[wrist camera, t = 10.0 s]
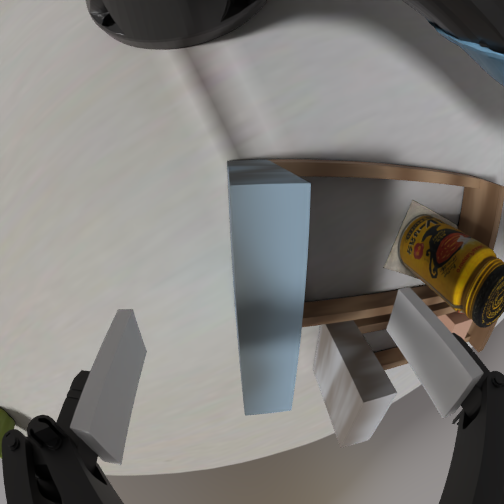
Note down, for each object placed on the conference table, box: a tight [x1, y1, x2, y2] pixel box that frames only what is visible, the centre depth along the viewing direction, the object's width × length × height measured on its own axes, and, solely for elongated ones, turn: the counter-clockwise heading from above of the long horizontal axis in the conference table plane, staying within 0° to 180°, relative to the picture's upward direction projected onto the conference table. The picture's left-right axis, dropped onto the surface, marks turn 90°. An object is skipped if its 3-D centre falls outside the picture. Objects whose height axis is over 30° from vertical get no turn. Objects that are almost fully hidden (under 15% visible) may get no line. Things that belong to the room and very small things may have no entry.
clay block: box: [438, 311, 473, 340], centre depth 28 cm, size 4×4×4 cm
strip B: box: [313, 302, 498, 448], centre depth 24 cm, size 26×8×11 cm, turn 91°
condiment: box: [383, 200, 504, 328], centre depth 19 cm, size 7×8×12 cm
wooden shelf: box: [227, 159, 504, 415], centre depth 19 cm, size 26×14×11 cm, turn 91°
